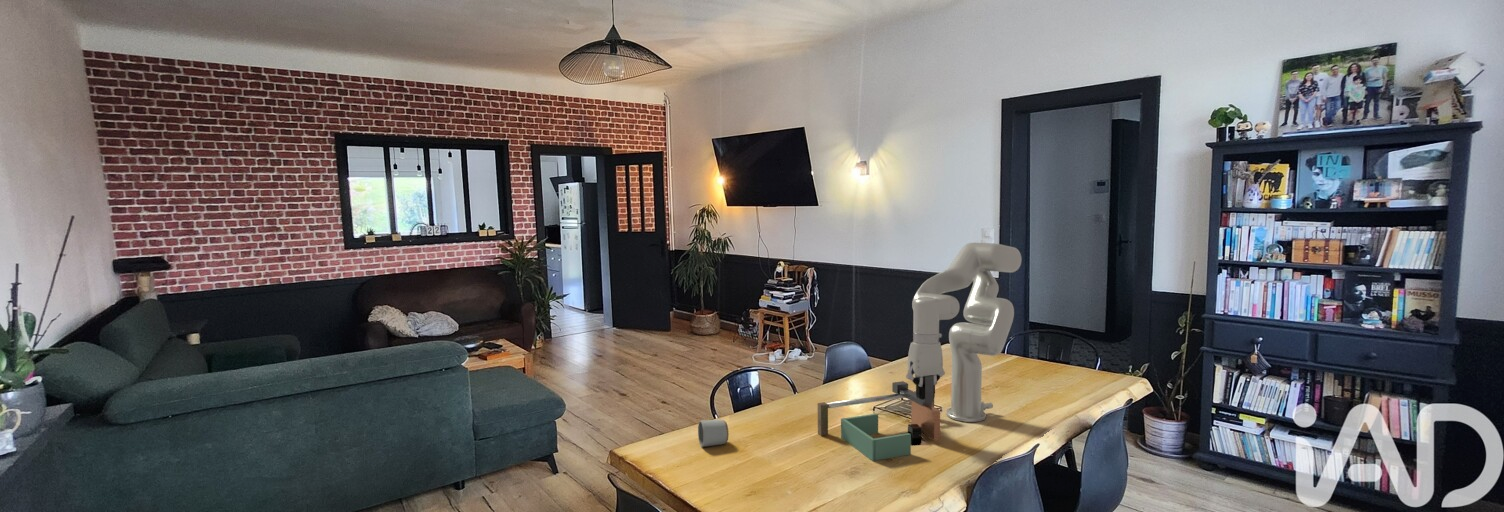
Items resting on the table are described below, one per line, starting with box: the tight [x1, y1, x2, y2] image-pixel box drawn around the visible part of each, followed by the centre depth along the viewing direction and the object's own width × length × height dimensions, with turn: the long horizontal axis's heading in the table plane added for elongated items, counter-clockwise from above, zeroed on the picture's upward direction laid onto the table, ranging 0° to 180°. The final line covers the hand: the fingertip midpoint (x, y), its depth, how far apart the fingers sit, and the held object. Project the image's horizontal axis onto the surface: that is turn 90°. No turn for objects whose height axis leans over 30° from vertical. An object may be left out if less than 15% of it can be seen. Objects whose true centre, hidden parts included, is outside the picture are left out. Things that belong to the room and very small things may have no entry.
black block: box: [907, 423, 930, 447], centre depth 196 cm, size 12×7×5 cm, turn 7°
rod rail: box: [817, 390, 935, 437], centre depth 207 cm, size 41×2×10 cm, turn 109°
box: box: [840, 413, 912, 462], centre depth 191 cm, size 12×19×6 cm, turn 19°
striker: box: [891, 375, 941, 442], centre depth 200 cm, size 4×22×18 cm, turn 20°
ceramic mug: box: [697, 419, 729, 448], centre depth 195 cm, size 11×8×8 cm
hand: (925, 397), depth 196 cm, fingers closed on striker, 3 cm apart
